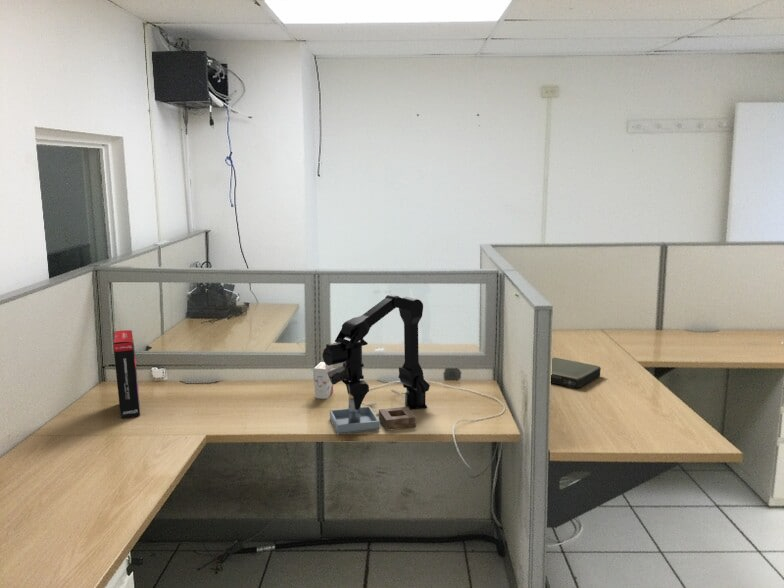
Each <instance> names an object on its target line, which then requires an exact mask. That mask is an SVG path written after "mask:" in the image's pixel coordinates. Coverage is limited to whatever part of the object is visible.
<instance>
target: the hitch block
mask: <svg viewBox="0 0 784 588" xmlns="http://www.w3.org/2000/svg"><path fill="white" fill-rule="evenodd" d="M378 419H379V421H380V423H381V425H382V426H383V428H384V429H385V430H386V431H392V430H391V429H394V430H398V429H399V430H402V429H403V430H404V429H411V428H416V427H417V425H416V423H417V421H416V419H417V417H416V415H414V413H413V412H412V411H411V409H409V407H408V406H401V407H390V408H389V407H388V408H379V409H378Z"/></svg>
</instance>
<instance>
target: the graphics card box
mask: <svg viewBox="0 0 784 588" xmlns="http://www.w3.org/2000/svg"><path fill="white" fill-rule="evenodd" d="M133 335H134V334H133V330H131V329H130V330H129V329H128V330H124V329H123V330H113V332H112V346H113V347H112V348H113V356H114V366H115V376H116V385H117V386H116V387H117V395H118V404H119V412H120V418H121V419H125V418H132V417H133V418H134V417H140V416H141V405H140V392H139V381H138V371H137V362H136V361H137V360H136V352H135V344H134V342H135V340H134V336H133Z"/></svg>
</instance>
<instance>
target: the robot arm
mask: <svg viewBox="0 0 784 588" xmlns="http://www.w3.org/2000/svg"><path fill="white" fill-rule="evenodd" d="M396 308H397V309H398V311H399V317H400V318H401V320H402V322H403V334H404V335H403V338H404V341H403V342H404V346H403V347H404V362H403V365H402V366H399V367H398V377H397V378H399V381H400V383H401V384H402V386H403V388H404V389H406V392H405V393H404V403H405V405H406V407H408V408H409V410H413V409H414V410H415V409H423V408H424V409H425V408H428V405H427V404H426V394H427V392H428V391H429V390H430V386H431V385H430V383H429V382H428V381H426V380H425V378H424V377H425V376H424V371H423V368H422V366H421V364H420V362H419V361H420V360H419V322H420V321H421V319H422V317H423V314H424V313H423V312H424V303H423V302H422V300H420V299H419V298H413V297H409V296H405V297H400V296H399V295H395V294H391V293H389V294H387V295H386V296H385V298H383V299H382V300H380V301H379V302H377V304H375V305H374V306H372V307H371V308H369V309H368V310H367V311H366V312H365V313H363V314H362V315H359V316H356V317H353V318H351V319H349V320H346V321H345V322H343V324H342V325H341V329H340V331H339V332H338V334H337V336H336V338H335V340H334V343H333V342H332V343H326V345H325V348H323V352H322V359H323V362H325V364H326V365H328V366H330V365H333V366H334V365H337V364H342V366H339V367H336V368H333V370H332V371H329V372H328V373H327V374H328V376H329V379H330V381H331V383H332V384H333V386H334V385H336V384H338V383H339V382H342V383H343V384H344V385H345V386H346V387H345V388H346V392H347V395H348V396H349V393H350V394H351V395H352V396H353V400H354V405H355V409H356V410H359V408H360V406H361V405H362V403H363V402H364V399H365V397H366V396H367V394H368V393H369V392H370V386H369V384H368V383H367V382H366V380H365V378H364V377H365V376H364V374H363V368H364V365H365V364H364V363H363V346H367V345H368V342H367V341H366V340H365V339H364V338H365V337H366V336H367V335H368V334H369V332H370V330H371V328H372V327H373V326H374V325H375V324H377V323H378V322H379V321H380V320H381V319H383V318H384V317H385V316H387V315H388V314H389V313H390V312H392V311H393V310H395V309H396ZM361 407H362V406H361Z"/></svg>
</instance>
